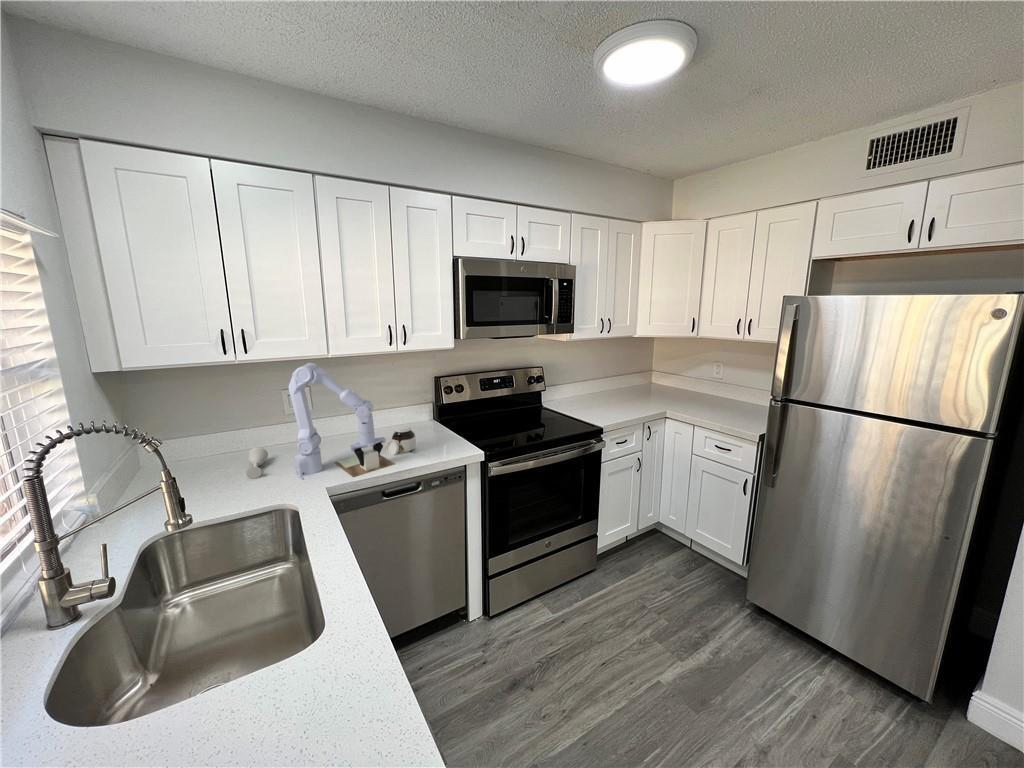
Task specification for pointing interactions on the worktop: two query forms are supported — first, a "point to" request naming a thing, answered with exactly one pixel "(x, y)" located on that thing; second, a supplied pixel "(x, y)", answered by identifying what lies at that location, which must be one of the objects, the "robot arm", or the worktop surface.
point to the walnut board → (358, 470)
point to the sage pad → (349, 462)
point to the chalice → (256, 461)
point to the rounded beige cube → (370, 459)
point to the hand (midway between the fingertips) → (369, 463)
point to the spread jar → (401, 440)
